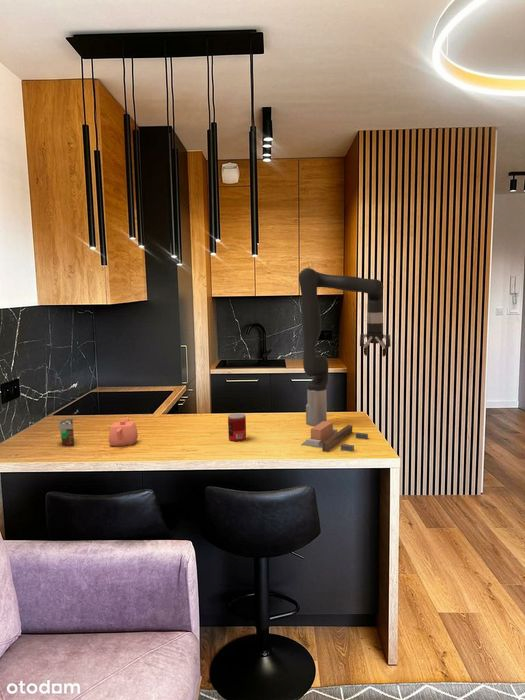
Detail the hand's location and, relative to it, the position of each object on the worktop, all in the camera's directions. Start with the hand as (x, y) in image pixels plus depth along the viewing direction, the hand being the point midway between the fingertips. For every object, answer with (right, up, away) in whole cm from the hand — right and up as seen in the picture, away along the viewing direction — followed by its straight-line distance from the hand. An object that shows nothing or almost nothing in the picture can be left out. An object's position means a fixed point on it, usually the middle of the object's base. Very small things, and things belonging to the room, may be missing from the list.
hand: (374, 355), depth 245 cm
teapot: (-115, -39, -17) cm, 122 cm away
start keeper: (-14, -37, -26) cm, 47 cm away
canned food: (-65, -37, -15) cm, 76 cm away
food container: (-141, -39, -16) cm, 147 cm away
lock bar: (-27, -36, -19) cm, 49 cm away
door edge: (-21, -37, -22) cm, 48 cm away
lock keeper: (-27, -37, -19) cm, 49 cm away
